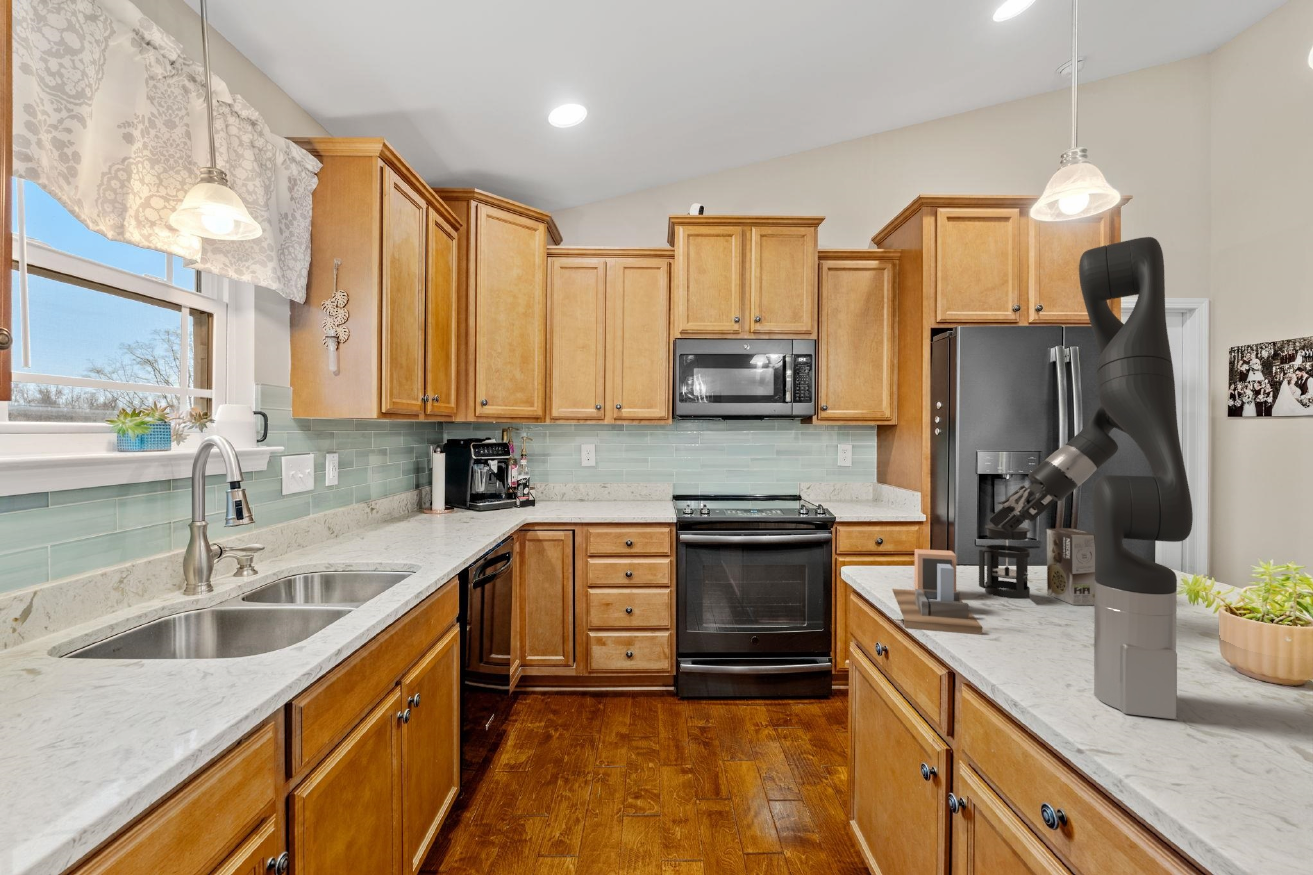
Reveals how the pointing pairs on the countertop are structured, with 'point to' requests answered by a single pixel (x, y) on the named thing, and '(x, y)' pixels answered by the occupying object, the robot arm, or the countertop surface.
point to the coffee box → (1071, 565)
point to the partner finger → (931, 567)
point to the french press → (993, 570)
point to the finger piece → (944, 583)
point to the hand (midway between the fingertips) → (997, 526)
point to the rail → (935, 612)
